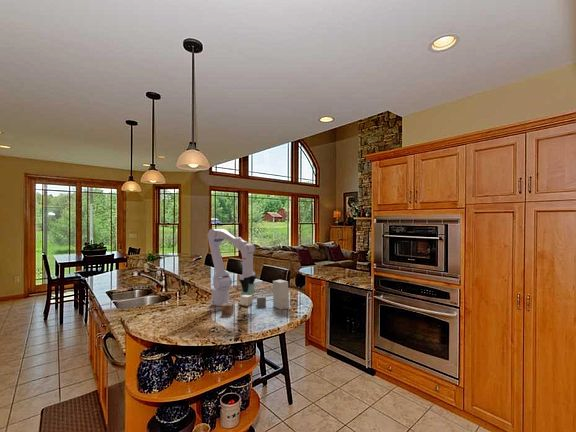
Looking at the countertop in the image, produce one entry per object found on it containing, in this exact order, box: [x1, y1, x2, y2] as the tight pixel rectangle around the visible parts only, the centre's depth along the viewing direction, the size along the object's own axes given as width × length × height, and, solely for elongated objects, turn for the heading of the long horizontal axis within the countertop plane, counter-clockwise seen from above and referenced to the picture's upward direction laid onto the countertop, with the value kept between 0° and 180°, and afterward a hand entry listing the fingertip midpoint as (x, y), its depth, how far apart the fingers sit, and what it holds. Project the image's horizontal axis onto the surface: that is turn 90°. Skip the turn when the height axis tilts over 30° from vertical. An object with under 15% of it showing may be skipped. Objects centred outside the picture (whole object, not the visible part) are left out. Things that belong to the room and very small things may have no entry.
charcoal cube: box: [256, 295, 267, 308], centre depth 171 cm, size 5×5×5 cm
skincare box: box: [272, 279, 290, 310], centre depth 167 cm, size 8×6×15 cm
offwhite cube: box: [239, 294, 254, 307], centre depth 174 cm, size 5×5×5 cm
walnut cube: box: [221, 302, 235, 316], centre depth 156 cm, size 5×5×5 cm
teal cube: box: [241, 283, 255, 296], centre depth 162 cm, size 5×5×5 cm
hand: (247, 290), depth 162 cm, fingers closed on teal cube, 5 cm apart
